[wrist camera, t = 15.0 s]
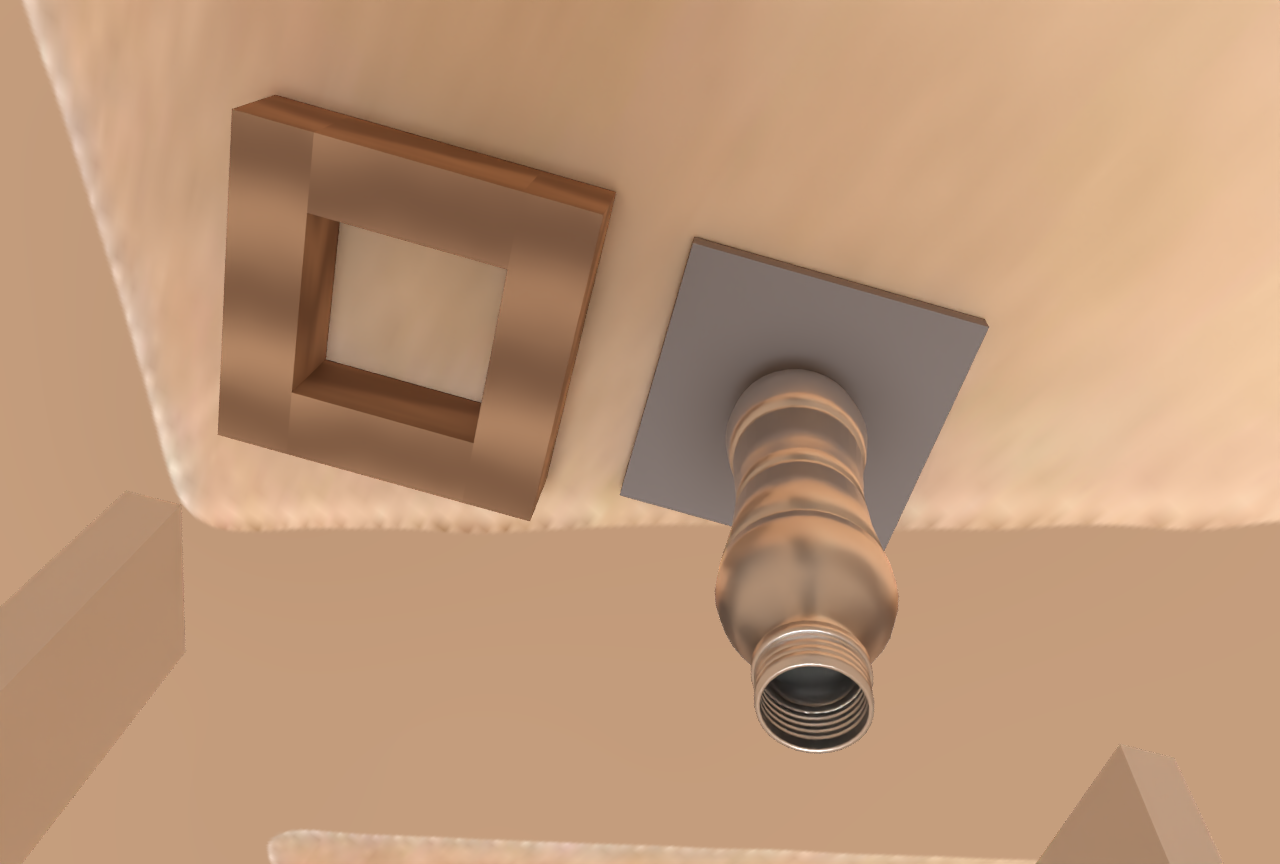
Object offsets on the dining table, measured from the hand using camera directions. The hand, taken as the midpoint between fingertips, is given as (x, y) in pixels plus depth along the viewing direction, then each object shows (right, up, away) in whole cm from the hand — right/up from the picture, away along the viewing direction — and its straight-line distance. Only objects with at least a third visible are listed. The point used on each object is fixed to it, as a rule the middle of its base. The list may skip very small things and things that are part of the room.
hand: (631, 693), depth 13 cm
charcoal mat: (+8, +5, +34) cm, 35 cm away
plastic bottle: (+8, +4, +33) cm, 34 cm away
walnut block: (-11, +10, +34) cm, 37 cm away
